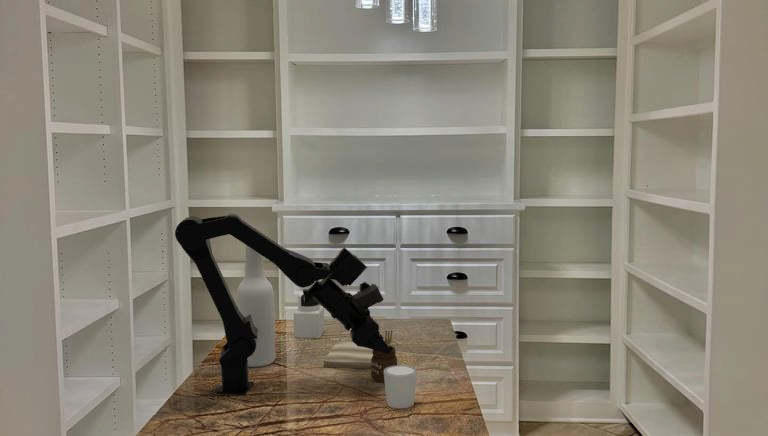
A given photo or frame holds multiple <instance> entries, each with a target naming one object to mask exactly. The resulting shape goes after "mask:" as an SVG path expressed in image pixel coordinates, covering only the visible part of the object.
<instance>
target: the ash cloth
mask: <svg viewBox="0 0 768 436" xmlns="http://www.w3.org/2000/svg"><path fill="white" fill-rule="evenodd" d="M389 346H391V343H390V344H389ZM372 356H373V349H369V348H365V347H360V346H359V347H358V346H357V345H356V344H355V343H354V342H352V340H351V341H349V340H348V341H347V340H345V341H343V340H342V341H341V340H337V341H336V343H334V345H333V346H332V348H331V349H330V351H329V352H328V353H327V355H326V357H325V358H324V360H323V368H333V367H336V368H337V369H339V368H340V369H363V370H366V369H367V370H371V359H372Z"/></svg>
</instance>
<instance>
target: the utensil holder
mask: <svg viewBox="0 0 768 436" xmlns="http://www.w3.org/2000/svg"><path fill="white" fill-rule="evenodd" d="M379 331H382V336H383V338H384V341H385V343H386V344H387V345H388V347H389V348H390V349H391V352H390V353H389V354H386V353H383V352H380V351H376V350H373V356H372V359H371V369H370V371H371V379H372V380H373V381H374V382H378V383H385V381H384V369H386V368H387V367H390V366H396V365H398V357H397V356H396V347H394V346H392V345H391V343H392V339H393V330H384V328H379ZM384 332H385V333H384ZM380 334H381V332H380V333H379V335H380ZM389 344H390V346H389Z"/></svg>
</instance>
